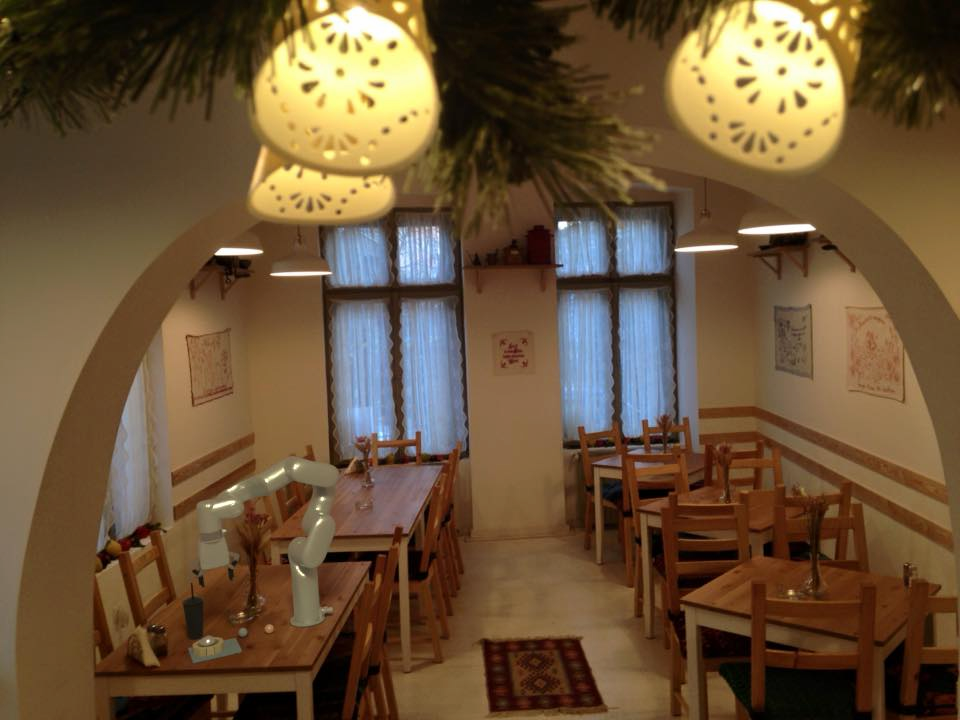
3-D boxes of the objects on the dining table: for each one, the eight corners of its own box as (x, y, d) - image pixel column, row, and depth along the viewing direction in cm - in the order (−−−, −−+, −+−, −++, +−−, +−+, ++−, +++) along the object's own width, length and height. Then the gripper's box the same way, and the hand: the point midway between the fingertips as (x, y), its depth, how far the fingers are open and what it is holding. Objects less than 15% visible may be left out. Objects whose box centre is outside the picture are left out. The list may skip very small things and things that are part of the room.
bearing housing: (235, 640, 295) (234, 631, 295) (241, 652, 284) (240, 642, 284) (188, 650, 288) (187, 641, 288) (192, 663, 277) (192, 653, 277)
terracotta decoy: (273, 630, 302) (272, 622, 302) (275, 633, 300) (274, 625, 299) (264, 632, 301) (263, 624, 301) (266, 635, 298) (265, 626, 298)
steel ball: (215, 645, 289) (213, 631, 288) (217, 650, 284) (215, 636, 284) (200, 649, 286) (198, 635, 286) (202, 654, 282) (200, 640, 282)
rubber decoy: (246, 634, 300) (246, 625, 300) (248, 637, 297) (247, 628, 297) (237, 636, 299) (237, 627, 299) (239, 639, 296) (238, 630, 296)
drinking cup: (188, 643, 295) (184, 588, 294) (182, 637, 302) (177, 583, 300) (209, 637, 300) (205, 582, 299) (203, 631, 306) (198, 578, 305)
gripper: (234, 528, 297) (239, 574, 299) (183, 538, 289) (189, 586, 291) (238, 532, 290) (244, 580, 292) (187, 543, 283) (193, 592, 284)
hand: (216, 583), depth 291 cm, fingers open, 9 cm apart
